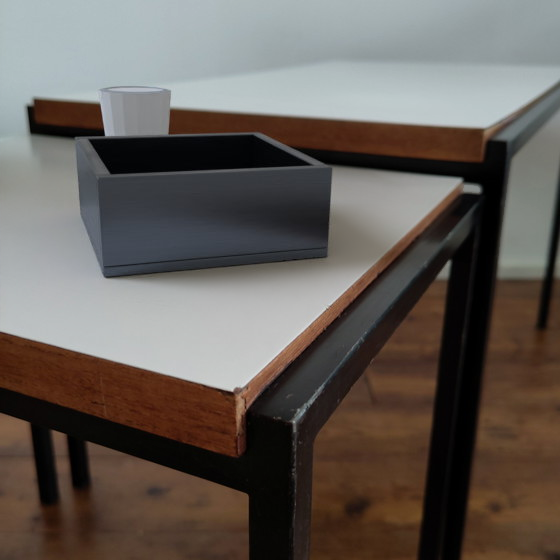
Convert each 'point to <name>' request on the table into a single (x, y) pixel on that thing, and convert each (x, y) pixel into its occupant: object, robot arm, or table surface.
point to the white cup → (135, 110)
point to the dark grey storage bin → (200, 201)
